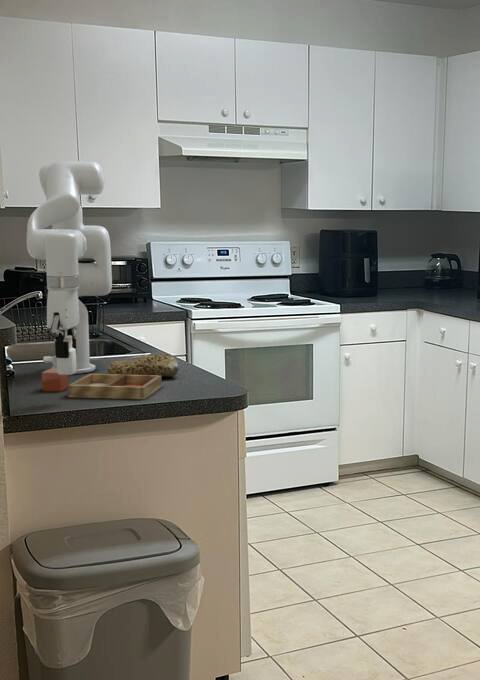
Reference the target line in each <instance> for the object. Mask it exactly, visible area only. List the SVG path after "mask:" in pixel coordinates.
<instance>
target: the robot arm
mask: <svg viewBox="0 0 480 680" xmlns="http://www.w3.org/2000/svg"><path fill="white" fill-rule="evenodd" d="M40 167H41V168H40V169H39V173H38V178H39V182H40V186H41V189H42V191H43V193H44V195H45V198H46V199H45V201H44V202H42V203H41V204H40V205H39V206H38V207H36V209H34V211H33V212H32V213H31V214H30V216H29V218H28V219H27V220H28V221H27V225H26V249H27V250H26V251H27V253H28V255H29V256H30V257H31V258H33V259H35V260H45V268H46V269H45V270H46V272H45V273H46V288H47V298H46V328H47V329H48V330H49V331H51V334H52V336H53V342H54V349H55V350H54V351H55V355H53V356H48V355H47V356H43V357H42V363H44V364H51V365H52V366H51V367H50V369H57V358H69V344H68V342H67V335H70V336H72V348H74V349H76V368H77V371H76V372H75V373H74V374H73V375H78V374H79V375H80V374H86V373H91V372H94V371H95V370H96V365H95V364H93V363H91V356H90V331H89V329H90V328H89V312H88V309H87V306H86V305H85V304H84V303H83V302H82V301H81V300H80V299H79V297H97V296H98V297H101V296H107V295H109V294H110V293H111V291H112V287H113V271H112V270H113V269H112V249H111V248H112V246H111V237H110V234H109V231H108V229H106V228H105V227H104V226H102V225H84V221H83V218H84V217H83V208H82V205H81V196H82V195H83V196H85V195H91V196H95V195H97V196H98V195H101V194H102V193H103V191H104V187H105V174H104V170H103V168H102V166H101V164H99V163H98V162H95V161H90V160H89V161H87V160H59V161H55V162H53V163H48V164H44V165H43V166H40ZM50 226H51V227H52V228H49V227H50ZM79 259H92V260H94V262H87V263H86V262H85V263H83V262H79Z"/></svg>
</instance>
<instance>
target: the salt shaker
mask: <svg viewBox="0 0 480 680" xmlns="http://www.w3.org/2000/svg"><path fill="white" fill-rule="evenodd" d="M67 342H68V344H69V358H57V373H58V374H59V375H67V376H72V375H75V374H74V373H75V372H76V371H77V368H76V349H74V348H72V336H70V335H67Z"/></svg>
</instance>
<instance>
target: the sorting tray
mask: <svg viewBox="0 0 480 680" xmlns="http://www.w3.org/2000/svg"><path fill="white" fill-rule="evenodd" d="M162 377H163V376H161V375H122V374H108V373H88V374H86V375H85V376H83V377H81V378H78V379H77V380H75V381H74V382H71V383H69V384H68V388H67V398H78V399H79V398H82V399H113V400H114V399H115V400H116V399H117V400H118V399H119V400H145V399H147V398H148V397H150V396H151V395H153V393H155V392H156V391H158V390H159V389H161V388H162V387H163V382H162V380H163V379H162Z"/></svg>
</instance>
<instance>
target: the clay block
mask: <svg viewBox="0 0 480 680" xmlns="http://www.w3.org/2000/svg"><path fill="white" fill-rule="evenodd" d="M68 383H69V381H68V375H59V374H58V373H57V369H51V368H48V369H46V370H44V371H41V391H42V392H63V391H64V390H67V389H68V385H69V384H68Z"/></svg>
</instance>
